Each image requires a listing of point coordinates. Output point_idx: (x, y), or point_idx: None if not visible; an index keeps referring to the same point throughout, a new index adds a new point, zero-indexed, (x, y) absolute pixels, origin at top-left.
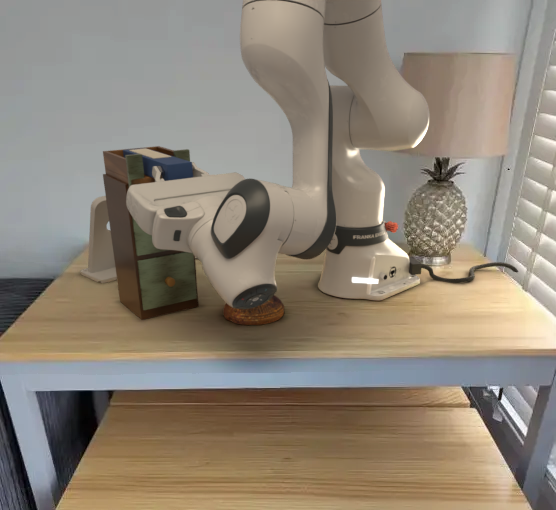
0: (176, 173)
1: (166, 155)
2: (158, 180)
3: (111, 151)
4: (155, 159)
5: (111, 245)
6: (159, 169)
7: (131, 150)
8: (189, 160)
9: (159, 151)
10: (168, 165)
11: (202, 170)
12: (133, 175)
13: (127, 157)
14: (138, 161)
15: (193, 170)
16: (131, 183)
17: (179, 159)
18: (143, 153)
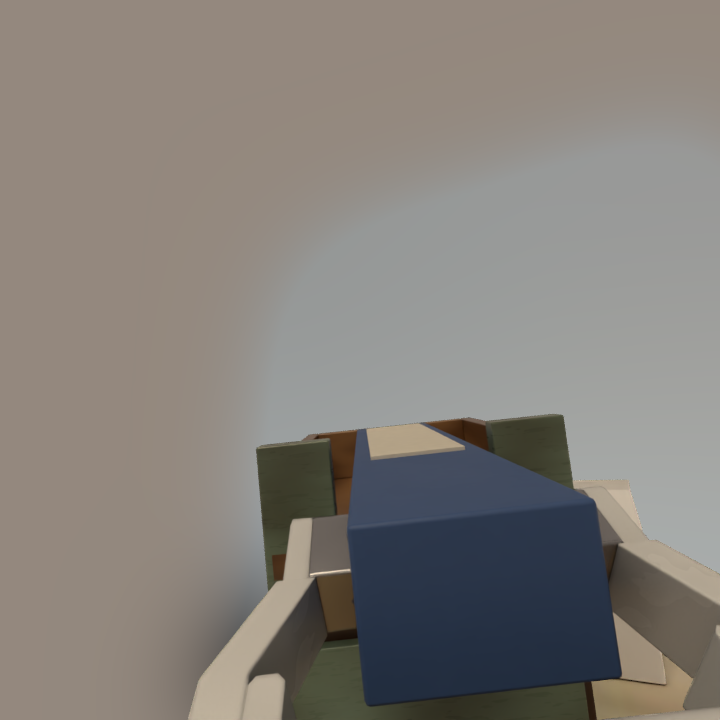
0: (441, 606)
1: (447, 443)
2: (219, 703)
3: (328, 434)
4: (370, 464)
5: None
6: (316, 549)
7: (368, 429)
8: (567, 464)
9: (467, 431)
10: (358, 533)
11: (709, 574)
12: (284, 535)
13: (258, 455)
14: (309, 472)
15: (610, 559)
16: (274, 572)
17: (496, 466)
18: (378, 437)
